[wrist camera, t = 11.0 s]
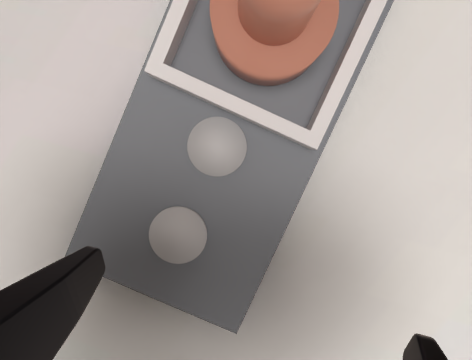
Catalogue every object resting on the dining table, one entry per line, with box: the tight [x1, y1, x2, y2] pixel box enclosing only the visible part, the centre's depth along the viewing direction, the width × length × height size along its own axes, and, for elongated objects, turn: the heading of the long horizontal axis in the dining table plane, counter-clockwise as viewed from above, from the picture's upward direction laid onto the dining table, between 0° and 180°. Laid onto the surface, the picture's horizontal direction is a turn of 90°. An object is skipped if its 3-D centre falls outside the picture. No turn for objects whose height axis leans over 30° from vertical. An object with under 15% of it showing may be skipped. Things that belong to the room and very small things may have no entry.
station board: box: [65, 0, 394, 334], centre depth 20 cm, size 24×12×3 cm, turn 156°
